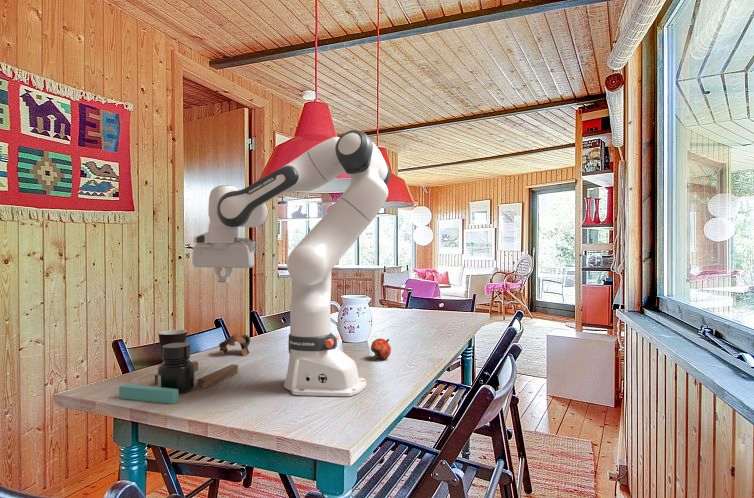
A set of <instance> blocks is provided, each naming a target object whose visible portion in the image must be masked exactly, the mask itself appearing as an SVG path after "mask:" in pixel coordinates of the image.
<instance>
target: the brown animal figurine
mask: <svg viewBox="0 0 754 498" xmlns="http://www.w3.org/2000/svg"><path fill="white" fill-rule="evenodd" d="M235 341H236V342H237V343H239V344H240V348H241V350H240V353H241V355H242V357H245V356H247V355H248V354H249V353H250V351H249V345H250V343H251V338H250V336H249V335H247V334H243V335H242V336H239V335H238V333H235V334H233V335H230V336H229V337H227V339H225V340H224V341H221V342H219V344H218V346H219V351H220V352H222V353H224V354H227V352H228V351H229V350H228V346H232V347H233V346H236V344H235V343H236V342H235Z"/></svg>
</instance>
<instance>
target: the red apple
mask: <svg viewBox="0 0 754 498" xmlns="http://www.w3.org/2000/svg"><path fill="white" fill-rule="evenodd" d="M389 341H390V338H387V340H386V339H385V338H376V339H375V340H372V343H371V346H370V351H371V352H372V353H374V355H373V356H372V357H371V358H370V359H369V361H372V360H373V359H374V358H375V357H376V358H377V359H381V360H386V359H387V358H389V357H390V356H391V353H392V347H391V345H390V344H389Z"/></svg>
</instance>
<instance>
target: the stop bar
mask: <svg viewBox="0 0 754 498" xmlns="http://www.w3.org/2000/svg"><path fill="white" fill-rule="evenodd" d="M118 391H119V393H118V398H119V399H122V400H123V399H126V400H133V401H142V402H153V403H161V404H168V405H169V404H170V405H173V404H176V403H178V402H179V394H178V389H171V388H161V387H158V386H151V385H141V384H140V385H139V384H132V383H124V384H122V385H119V386H118Z"/></svg>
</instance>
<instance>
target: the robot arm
mask: <svg viewBox="0 0 754 498" xmlns="http://www.w3.org/2000/svg"><path fill="white" fill-rule="evenodd" d="M343 174H346V175H348V176H349V177H350V183H349V186H348V187H347V189H346V190H345V191H344V192H343V193H342V194H341V195H340V197H338V199H337V200H336V201H335V202H334V204H333V205H332V206H331V207H330V208H329V209H328V211H326V213H325V215H324V216H323V217H322V218H321V219H320V220H319V221H318V222H317V223H316V224H315V226H314V227H312V229H310V231H308V233H307V234H306V235H305V236H304V237H303V238H302V239H301V240H300V242H298V244H297V245H296V246H295V247H294V248H293V249H292V251H290V253H289V255H288V257H287V260H286V268H287V269H286V270H287V272H288V275H289V276H290V278H292V286H291V297H290V299H291V300H290V304H289V305H290V306H289V313H290V314H289V315H290V316H289V320H290V321H289V326H290V327H289V328H290V330H289V332H290V333H289V334H288V344H287V345H288V353H289V358H288V359H289V360H288V366H287V374H286V377H285V381H284V384H283V386H284V388H285V389H286V390H288V391H290V392H291V394H292V395H294V396H311V397H312V396H313V397H314V396H315V397H317V396H318V397H319V396H320V397H350V396H351V397H352V396H355V395H357V394H359V393H361V392H362V391H363V390H364V389H366V387H367V380H366V378H364V377H359V371H358V366H357V363H356V361H355V360H354V359H353V358H351V357H350V356H349V355H348V354H346V353H345V352H343V350H341V349H340V348H339V347H338V341H339V340H340V339H339V335H336V336H335V335H334V334H333V333H332V332H331V301H332V299H331V298H332V270H333V268H334V267H335V266H336V265H337V263H338V262H339V261H340V260H341V259H342V257H343V256H344V255H345V254H346V253H347V252H348V250H349V249H350V248H351V247H352V246H353V244H354V243H355V242H356V241H357V239H358V238H359V237H360V236H361V235H362V233H364V232H365V230H366V229H367V228H368V226H369V225H370V224H371V223H372V222H373V220H374V219H375V218H376V216H377V215H378V214H379V212H380V210H381V209H382V207H383V206H384V204H385V202H386V201H387V199H388V197H389V188H388V186H387V185H388V183H389V182H390V178H391V170H390V167H389V164H388V162H386V160H385V158H384V157H383V154H382V152H381V150H380V149H379V147H378V146H377V145H376V144H375V143H374V142H373V141H372V138H370V136H369V135H367V133H365V132H363V131H361V130H359V129H352V130H349V131H347V132H344V133H343V134H342V135H340V136H334V137H331V138H328V139H326V140H324V141H322V142H320V143H318V144H316V145H314V146H313V147H311V148H309V149H308V150H307V151H305V152H304V153H302V154H300V155H299V156H298V157H295V159H293V160H291V161H290V162H289V163H287V164H285V165H284V166H281V167H280V168H278V169H276V170H274V171H272V172H271V173H269V174H268V175H266V176H264V177H262V178H260V179H259V180H257V181H255V182H254V183H252V184H250V185H248V186H247V187H245V188H242V189H238V188H237V187H236V186H234V185H227V184H226V185H219V186H215V187H214V188H212V189H211V190H210V192H209V196H208V210H207V211H208V217H209V223H208V226H207V227H208V228H207V229H208V231H207V232H204V233H202V234H199V235H196V236H195V237H194V238H193V243H194V244H195V245H194V246H193V249H192V265H193V266H194V268H214V273H215V275H216V277H217V282H218V283H229V282H230V276H231V275H232V273H233V268H234V269H238V268H239V269H251V268H253V267H254V265H255V255H254V242H253V241H252V240H251V239H250V238H249V237H244V238H243V237H239V228H240V227H241V228H257V227H260V226H262V225H264V223H266V221H267V219H268V217H269V208H268V206H267V204H266V203H267V202H269V201H271V200H272V199H274V198H276V197H277V196H281V195H283V194H286V193H292V192H293V193H294V192H311V191H314V190H316V189H318V188H322V187H323V186H325V185H326V184H328V183H329V182H331V181H332V180H333V179H335V178H336V177H338V176H341V175H343ZM223 269H224V272H225V274H224V275H223V274H222V271H223Z"/></svg>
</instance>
